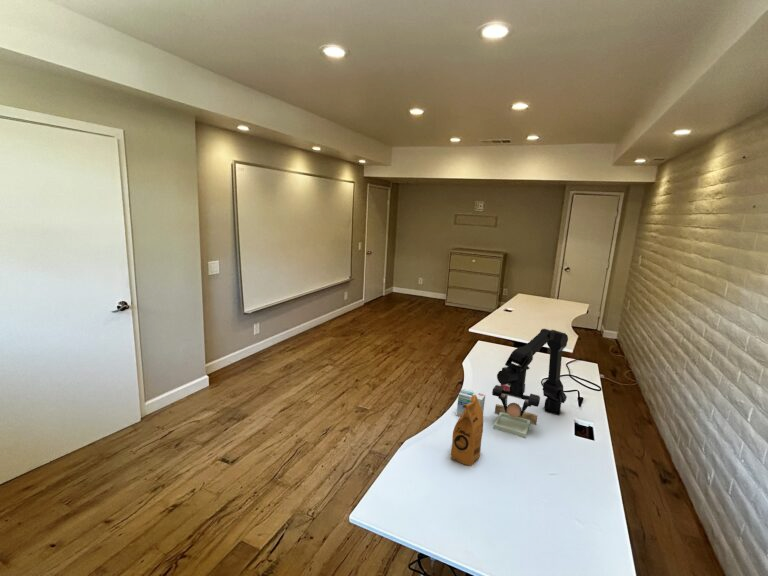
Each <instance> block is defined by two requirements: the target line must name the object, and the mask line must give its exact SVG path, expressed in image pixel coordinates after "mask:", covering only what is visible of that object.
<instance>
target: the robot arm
mask: <svg viewBox="0 0 768 576" xmlns="http://www.w3.org/2000/svg"><path fill="white" fill-rule="evenodd" d="M568 337H569V336H568V335H567V334H566V333H565V332H561V331H559V330H554V329H547V328H541V330H540V331H539V333H538V334H536V335H535V336H534V337H533V338H531V340H530V341H528V343H526V344H525V345H523V346H519V347H517V348H515V349H514V350H512V352H511V353H510V355H509V356H508V358H507V360H506V361H505V364H504V366H508V367H504V366H503V367H504V368H503V367H502V368H501V370H499V371H498V373H497V375H496V379H497V381H498V383H500V385H498V384H496V385H494V387H493V388H492V392H491V395H492V396H494V397H498V399H499V400H500V401H501V403H502V405H503V406H504V409H505V412H507V406H508V397H512V398H517V399H520V400H524V402H523V404H522V407H521V417H522V415H523V413H524V411H525V412H526V410H527V408H529V407H531V406H532V407H537V408H538V407H539V405H540V401H541V396H540V395H538V394H534V393H530V394H529V395H527V394H526V395H525V392H526V391H525V390H526V377H527V371H528V370H530V367H529V365H530V364H531V363H532V362H533V359H534V355H536V353H538V352H539V351H540V349H542V348H543V347H544V346H545V345H546V344H547V346H548V348H549V349H550V350H549V362H548V363H549V364H548V377H547V379H546V380H545V381H544V382H543V383H542V391H543V392H542V393H543V397H546V398H545V401H544V407H543V408H544V412H546V413H549V414H554V415H558V416H560V414H561V410H562V409H561V408H562V407H561V406H562V404H565V402H566V400H567V395H566V394H565V392H564V385H563V383H562V380H561V371H562V359H563V358H562V357H563V351H564V349H565V348H566V347H567V345H568V341H569V338H568ZM501 384H502V385H506V384H508V385H509V386H510V389H509V391H507V390H504V387H502V386H501Z"/></svg>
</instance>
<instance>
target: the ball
mask: <svg viewBox="0 0 768 576" xmlns="http://www.w3.org/2000/svg"><path fill="white" fill-rule="evenodd" d="M521 411H522V407H521V406H520V404H518V403H517V402H511V403H509V404H507V413H508V414H509V415H510V416H511V417H514V418H515V417H518V416H520V414H521Z"/></svg>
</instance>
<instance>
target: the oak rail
mask: <svg viewBox="0 0 768 576" xmlns="http://www.w3.org/2000/svg"><path fill="white" fill-rule="evenodd" d="M500 412H503V413H506V414H508V413H507V412H505V409H504V406H503V404H498V403H495V406H494V414H495V415H499V413H500ZM538 416H539V415H538V414H536V413H531V412H528V411H526V410H525V411H524V413H523V415H522V417H521V414H520V416H518V417H521V418H524V419H528V420H530V425H534V426H537V423H538Z"/></svg>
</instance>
